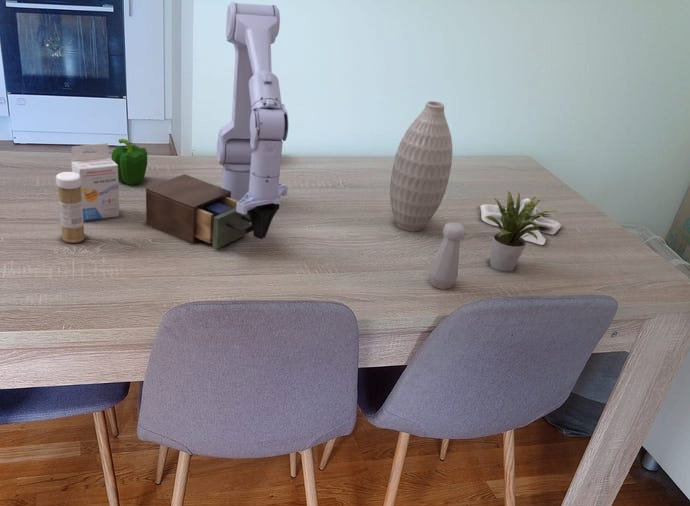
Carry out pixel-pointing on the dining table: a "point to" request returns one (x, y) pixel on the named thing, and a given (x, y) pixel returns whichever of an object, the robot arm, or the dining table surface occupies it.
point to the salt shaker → (447, 257)
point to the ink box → (97, 181)
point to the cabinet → (179, 204)
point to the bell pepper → (130, 162)
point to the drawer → (221, 224)
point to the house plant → (512, 233)
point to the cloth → (549, 229)
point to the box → (217, 209)
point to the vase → (421, 169)
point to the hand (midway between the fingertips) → (259, 236)
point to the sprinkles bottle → (70, 206)
